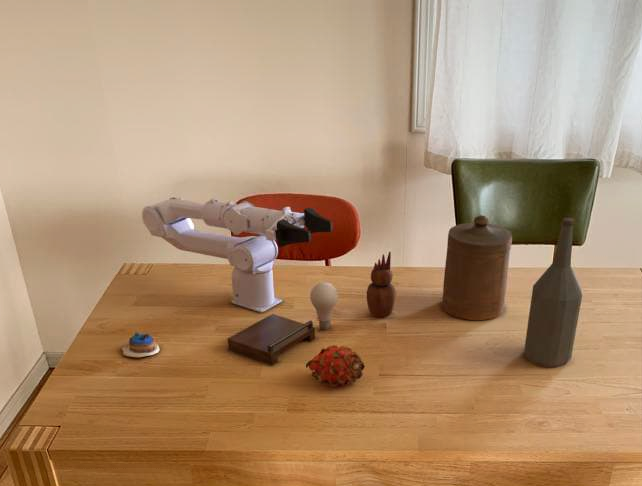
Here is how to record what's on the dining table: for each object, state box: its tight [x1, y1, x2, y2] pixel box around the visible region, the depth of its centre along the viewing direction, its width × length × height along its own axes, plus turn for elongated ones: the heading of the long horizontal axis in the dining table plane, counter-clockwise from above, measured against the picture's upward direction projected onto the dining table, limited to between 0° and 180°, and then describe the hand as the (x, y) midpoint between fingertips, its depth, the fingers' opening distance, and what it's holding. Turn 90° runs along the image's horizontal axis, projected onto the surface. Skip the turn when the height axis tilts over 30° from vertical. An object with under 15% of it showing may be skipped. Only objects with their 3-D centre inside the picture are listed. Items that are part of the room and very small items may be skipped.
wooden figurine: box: [366, 251, 397, 318], centre depth 182 cm, size 7×6×15 cm
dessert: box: [121, 332, 160, 358], centre depth 169 cm, size 8×7×6 cm
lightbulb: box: [309, 281, 339, 331], centre depth 176 cm, size 6×6×11 cm
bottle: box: [524, 217, 583, 368], centre depth 162 cm, size 10×10×30 cm
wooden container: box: [441, 214, 513, 321], centre depth 184 cm, size 15×15×22 cm
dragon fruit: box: [305, 345, 365, 388], centre depth 159 cm, size 8×8×12 cm
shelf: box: [227, 313, 316, 366], centre depth 172 cm, size 12×15×4 cm
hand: (320, 231), depth 169 cm, fingers open, 7 cm apart
